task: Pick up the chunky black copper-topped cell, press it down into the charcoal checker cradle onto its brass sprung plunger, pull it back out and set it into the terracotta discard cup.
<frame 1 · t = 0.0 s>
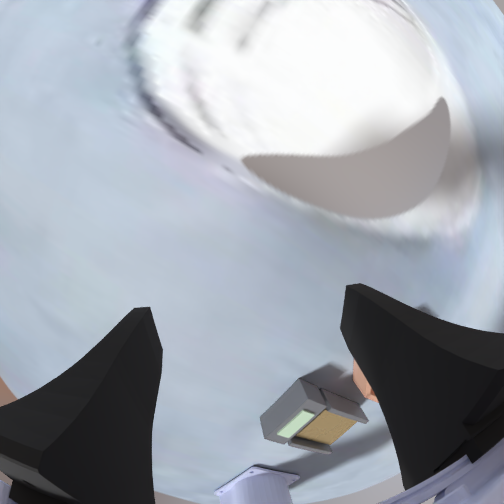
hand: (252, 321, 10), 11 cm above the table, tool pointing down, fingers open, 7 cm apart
discard cup: (385, 356, 24), on the table
battery checker: (321, 415, 25), on the table
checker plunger: (326, 426, 23), point 2 cm above the table, slide at 0.0 cm
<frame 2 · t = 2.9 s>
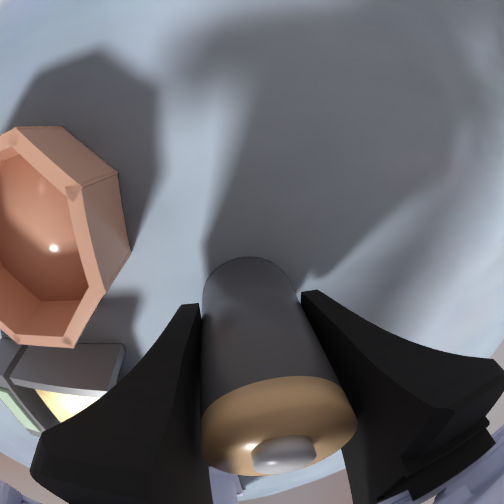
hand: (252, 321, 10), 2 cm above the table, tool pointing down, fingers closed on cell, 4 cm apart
cell: (247, 297, 11), on the table, touching gripper
discard cup: (46, 226, 9), on the table
battery checker: (93, 383, 12), on the table
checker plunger: (85, 406, 11), point 2 cm above the table, slide at 0.0 cm
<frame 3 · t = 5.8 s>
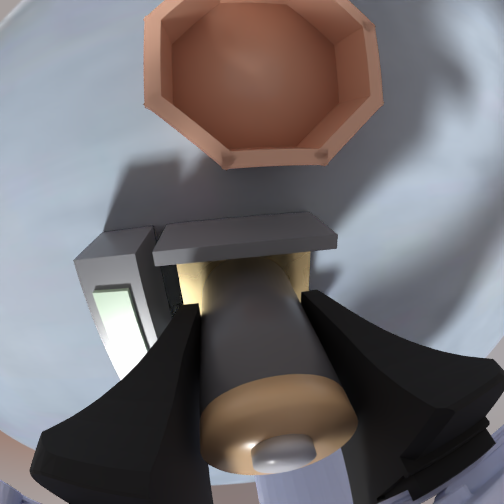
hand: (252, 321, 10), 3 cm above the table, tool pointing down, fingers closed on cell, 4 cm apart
cell: (246, 295, 11), point 1 cm above the table, touching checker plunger, gripper
discard cup: (256, 71, 9), on the table
battery checker: (243, 281, 13), on the table
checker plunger: (246, 292, 12), point 1 cm above the table, slide at 0.8 cm, touching cell
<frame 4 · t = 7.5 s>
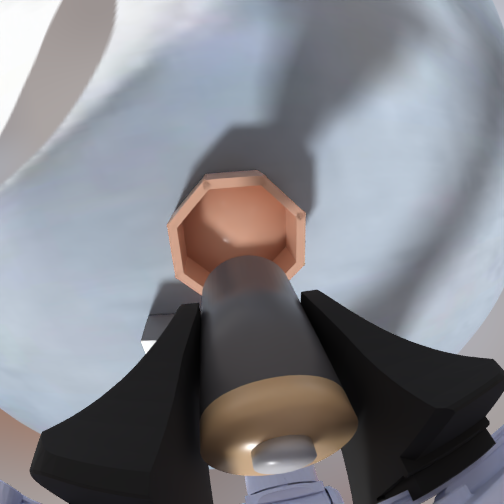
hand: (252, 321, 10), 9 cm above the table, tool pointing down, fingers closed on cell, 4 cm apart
cell: (246, 296, 11), point 7 cm above the table, touching gripper
discard cup: (235, 229, 18), on the table
battery checker: (231, 340, 21), on the table
when the fingers open (4 cm above the table, at t = 8.9 s): cell drops 1 cm, resting on discard cup.
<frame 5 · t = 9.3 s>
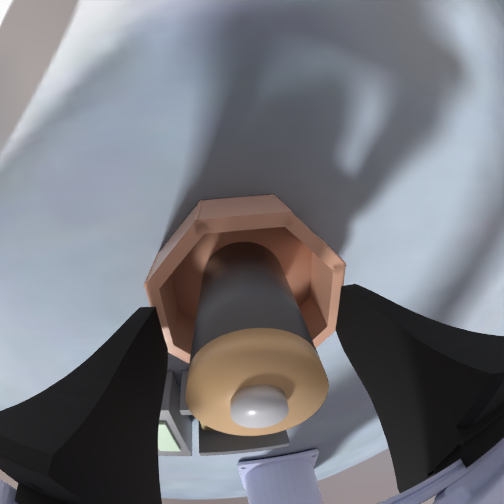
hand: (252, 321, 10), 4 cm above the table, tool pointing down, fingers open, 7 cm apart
cell: (243, 279, 12), point 1 cm above the table, touching discard cup
discard cup: (242, 275, 13), on the table
battery checker: (236, 396, 16), on the table
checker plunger: (238, 408, 16), point 1 cm above the table, slide at 0.8 cm
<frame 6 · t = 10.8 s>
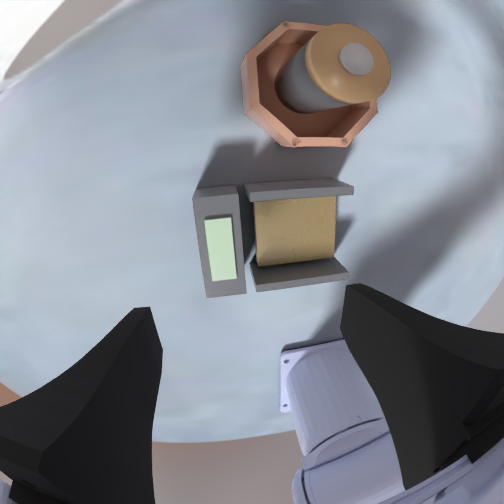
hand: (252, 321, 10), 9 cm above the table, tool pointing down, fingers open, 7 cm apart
cell: (303, 86, 15), point 1 cm above the table, touching discard cup
discard cup: (300, 89, 15), on the table
battery checker: (291, 224, 19), on the table
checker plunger: (295, 229, 18), point 1 cm above the table, slide at 0.8 cm
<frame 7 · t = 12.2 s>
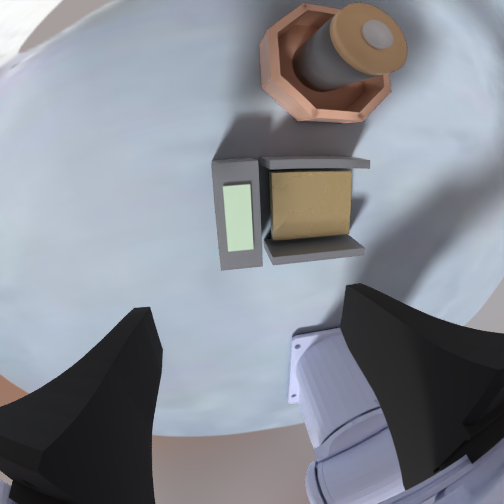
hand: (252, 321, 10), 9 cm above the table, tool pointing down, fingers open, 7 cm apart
cell: (319, 66, 14), point 1 cm above the table, touching discard cup
discard cup: (316, 69, 15), on the table
battery checker: (306, 200, 18), on the table
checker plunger: (311, 203, 17), point 1 cm above the table, slide at 0.8 cm
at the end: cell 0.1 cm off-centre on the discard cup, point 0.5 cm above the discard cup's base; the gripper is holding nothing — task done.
